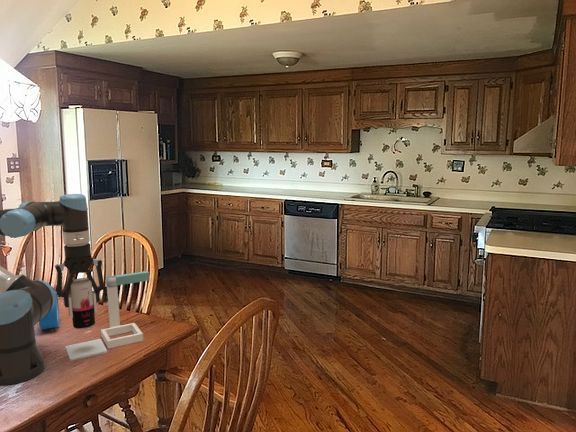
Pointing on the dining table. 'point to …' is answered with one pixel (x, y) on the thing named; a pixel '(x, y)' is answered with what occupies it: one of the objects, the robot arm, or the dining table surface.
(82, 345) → the mat
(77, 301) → the beverage can
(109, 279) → the bar
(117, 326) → the grey frame with post
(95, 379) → the dining table surface
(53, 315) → the alarm clock
